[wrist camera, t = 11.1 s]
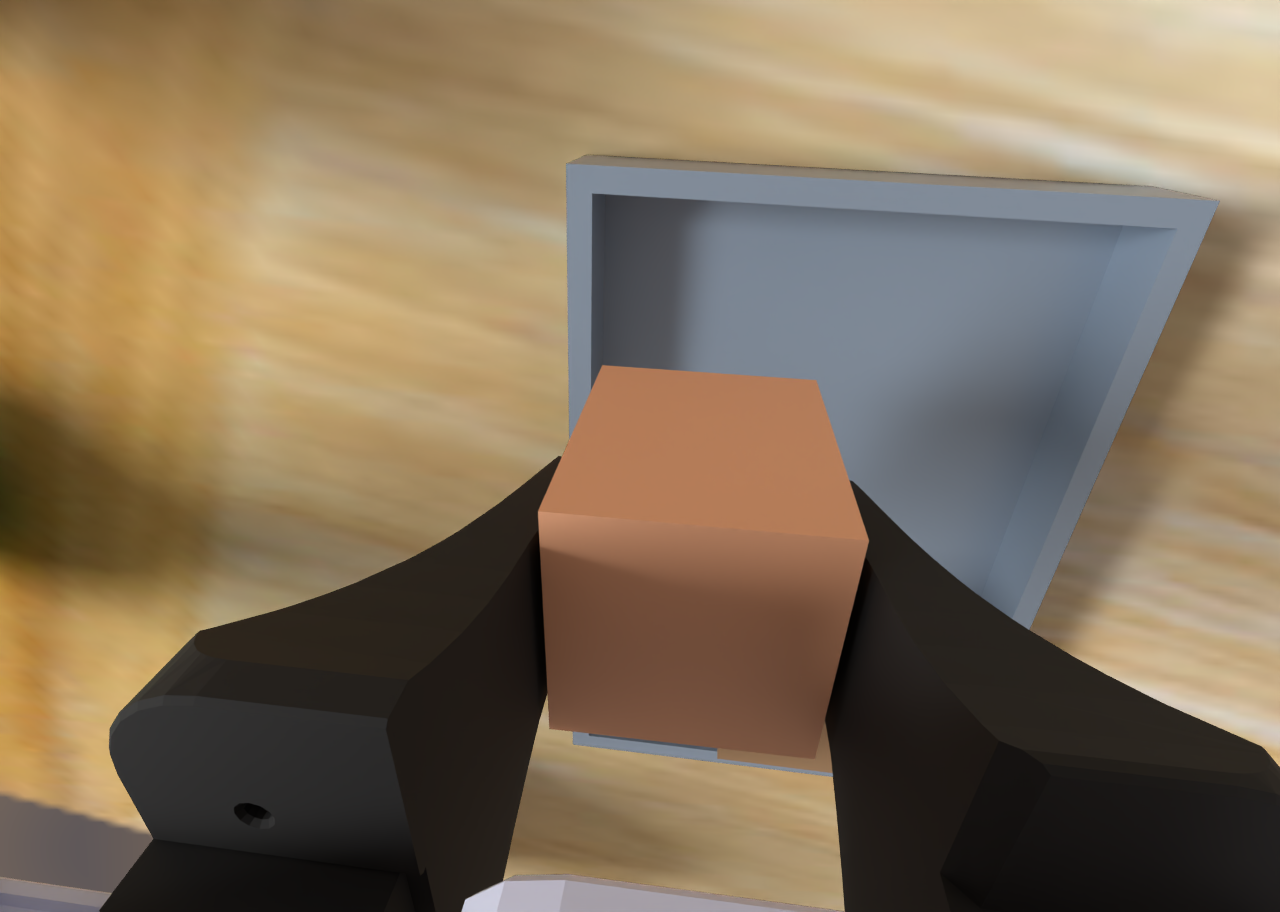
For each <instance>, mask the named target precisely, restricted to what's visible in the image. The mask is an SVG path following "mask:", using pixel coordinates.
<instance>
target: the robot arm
mask: <svg viewBox="0 0 1280 912" xmlns="http://www.w3.org/2000/svg"><path fill="white" fill-rule="evenodd" d="M561 458H562V457H561V456H558V457H557V458H556V459H554V460H553V461H552V462H551V463H549V464H548V465H547V466H546V467H544V468H543V469H542V470H541V471H539V472H538V473H537V474H536V475H534V476H533V477H532V478H531V479H530V480H528V481H527V482H526V483H525V484H523V485H522V486H521V487H520V488H518V489H517V490H516V491H515V492H513V493H512V494H511V495H509V496H508V497H507V498H505V499H504V500H503V501H502V502H500V503H499V504H498V505H496V506H495V507H493V508H492V509H490V510H489V511H487V512H486V513H485V514H483V515H482V516H480V517H479V518H477V519H476V520H474V521H473V522H471V523H470V524H468V525H467V526H466V527H464V528H463V529H461V530H460V531H458V532H456V533H455V534H453V535H452V536H450V537H448V538H446V539H445V540H443V541H441V542H440V543H438V544H436V545H434V546H432V547H430V548H429V549H427V550H425V551H423V552H421V553H419V554H418V555H416V556H414V557H412V558H410V559H408V560H406V561H404V562H401V563H399V564H397V565H395V566H393V567H390V568H388V569H386V570H384V571H381V572H379V573H377V574H375V575H372V576H370V577H368V578H366V579H364V580H361V581H359V582H357V583H354V584H352V585H349V586H346V587H344V588H341V589H339V590H336V591H333V592H331V593H328V594H325V595H322V596H319V597H316V598H314V599H311V600H308V601H305V602H302V603H299V604H296V605H293V606H290V607H286V608H283V609H280V610H277V611H273V612H269V613H266V614H262V615H258V616H255V617H251V618H247V619H244V620H240V621H236V622H233V623H229V624H225V625H222V626H218V627H214V628H210V629H206V630H201V631H199V632H198V633H197V634H196V635H195V636H194V637H193V638H192V639H191V640H190V641H189V642H188V643H187V644H186V645H185V646H184V647H183V648H182V649H181V650H180V651H179V652H178V653H177V654H176V655H175V656H174V657H173V658H172V659H171V660H170V661H169V662H168V663H167V664H166V665H165V666H164V667H163V668H162V669H161V670H160V671H159V672H158V673H157V674H156V675H155V676H154V677H153V679H152V680H151V681H150V682H149V683H148V684H147V685H146V686H145V687H144V688H143V689H142V690H141V691H140V692H139V693H138V694H137V695H136V696H135V697H134V698H133V699H132V700H131V701H130V702H129V703H128V704H127V705H126V706H125V707H124V708H123V709H122V710H121V711H120V712H119V714H118V716H117V717H116V719H115V721H114V722H113V724H112V726H111V727H110V736H109V750H110V755H111V758H112V761H113V763H114V766H115V769H116V771H117V774H118V776H119V778H120V779H121V781H122V783H123V785H124V787H125V788H126V790H127V792H128V794H129V796H130V797H131V799H132V801H133V803H134V805H135V806H136V808H137V810H138V812H139V813H140V815H141V817H142V819H143V821H144V822H145V824H146V826H147V828H148V830H149V831H150V833H151V835H152V837H153V840H152V842H151V843H150V844H149V846H148V847H147V848H146V849H145V851H144V852H143V854H142V855H141V856H140V857H139V859H138V860H137V861H136V863H135V864H134V865H133V867H132V868H131V869H130V870H129V872H128V873H127V874H126V876H125V877H124V879H123V880H122V881H121V882H120V884H119V885H118V886H117V888H116V889H115V890H114V891H113V893H107V892H100V891H93V890H86V889H79V888H72V887H65V886H58V885H52V884H45V883H38V882H30V881H24V880H17V879H10V878H4V877H0V912H844V911H838V910H831V909H823V908H816V907H808V906H801V905H793V904H786V903H779V902H771V901H764V900H756V899H749V898H742V897H734V896H727V895H719V894H712V893H704V892H697V891H690V890H682V889H675V888H667V887H660V886H653V885H645V884H638V883H630V882H623V881H615V880H608V879H601V878H593V877H586V876H578V875H571V874H550V875H514V876H512V877H510V878H508V879H506V880H504V881H503V878H504V873H505V868H506V864H507V859H508V854H509V850H510V845H511V840H512V836H513V831H514V826H515V822H516V818H517V813H518V809H519V804H520V800H521V796H522V791H523V787H524V782H525V778H526V774H527V769H528V765H529V761H530V757H531V753H532V748H533V744H534V740H535V736H536V732H537V728H538V724H539V720H540V716H541V713H542V710H543V706H544V703H545V700H546V696H547V694H548V690H547V671H546V653H545V634H544V616H543V597H542V578H541V560H540V541H539V522H538V510H539V508H540V505H541V503H542V501H543V499H544V496H545V494H546V492H547V490H548V487H549V485H550V483H551V481H552V478H553V476H554V474H555V471H556V469H557V467H558V465H559V462H560V460H561ZM849 481H850V484H851V487H852V490H853V493H854V496H855V499H856V502H857V505H858V509H859V512H860V515H861V518H862V521H863V524H864V527H865V530H866V533H867V536H868V539H869V543H868V547H867V551H866V555H865V559H864V563H863V567H862V571H861V575H860V579H859V583H858V587H857V591H856V595H855V599H854V603H853V607H852V611H851V615H850V619H849V624H848V628H847V632H846V636H845V640H844V644H843V648H842V652H841V656H840V660H839V664H838V668H837V672H836V676H835V680H834V684H833V688H832V692H831V696H830V700H829V704H828V708H827V712H826V716H825V724H826V729H827V735H828V741H829V747H830V753H831V763H832V772H833V782H834V791H835V801H836V811H837V822H838V833H839V844H840V856H841V867H842V879H843V893H844V907H845V912H1280V767H1279V766H1278V765H1277V763H1276V762H1275V761H1274V760H1273V759H1272V757H1271V756H1270V755H1269V754H1268V753H1267V751H1266V750H1265V749H1264V748H1263V747H1262V746H1259V745H1257V744H1255V743H1252V742H1250V741H1248V740H1246V739H1243V738H1241V737H1239V736H1236V735H1234V734H1232V733H1230V732H1227V731H1225V730H1223V729H1220V728H1218V727H1216V726H1214V725H1211V724H1209V723H1207V722H1205V721H1202V720H1200V719H1198V718H1195V717H1193V716H1191V715H1189V714H1186V713H1184V712H1182V711H1179V710H1177V709H1175V708H1173V707H1170V706H1168V705H1166V704H1164V703H1162V702H1160V701H1157V700H1155V699H1153V698H1151V697H1149V696H1147V695H1145V694H1143V693H1141V692H1140V691H1138V690H1136V689H1134V688H1132V687H1130V686H1128V685H1126V684H1124V683H1122V682H1120V681H1118V680H1116V679H1114V678H1112V677H1110V676H1108V675H1106V674H1104V673H1102V672H1100V671H1099V670H1097V669H1095V668H1093V667H1091V666H1089V665H1088V664H1086V663H1084V662H1082V661H1080V660H1079V659H1077V658H1075V657H1073V656H1072V655H1070V654H1068V653H1067V652H1065V651H1063V650H1062V649H1060V648H1058V647H1056V646H1055V645H1053V644H1051V643H1050V642H1048V641H1046V640H1045V639H1043V638H1041V637H1040V636H1038V635H1036V634H1035V633H1033V632H1032V631H1030V630H1029V629H1027V628H1025V627H1024V626H1022V625H1021V624H1019V623H1018V622H1016V621H1015V620H1013V619H1012V618H1010V617H1009V616H1007V615H1006V614H1004V613H1003V612H1002V611H1000V610H999V609H997V608H996V607H995V606H993V605H992V604H990V603H989V602H988V601H986V600H985V599H983V598H982V597H981V596H979V595H978V594H976V593H975V592H974V591H972V590H971V589H970V588H969V587H967V586H966V585H965V584H963V583H962V582H961V581H960V580H958V579H957V578H956V577H955V576H954V575H952V574H951V573H950V572H949V571H948V570H946V569H945V568H944V567H943V566H942V565H940V564H939V563H938V562H937V561H936V560H934V559H933V558H932V557H931V556H930V555H929V554H928V553H927V552H925V551H924V550H923V549H922V548H921V547H920V546H919V545H918V544H917V543H916V542H914V541H913V540H912V539H911V538H910V537H909V536H908V535H907V534H906V533H905V532H904V531H903V530H902V529H901V528H900V527H899V526H898V525H897V524H896V523H895V522H894V521H893V520H892V519H891V518H890V517H889V516H888V515H887V514H886V513H885V512H884V511H883V510H882V509H881V508H880V507H879V506H878V505H877V504H876V503H875V502H874V501H873V500H872V499H871V498H870V497H869V496H868V495H867V494H866V493H865V492H864V491H863V490H862V489H861V488H860V487H859V486H858V485H857V484H855V483H854V482H853V481H851V480H849Z"/></svg>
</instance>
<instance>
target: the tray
mask: <svg viewBox="0 0 1280 912" xmlns="http://www.w3.org/2000/svg"><path fill="white" fill-rule="evenodd" d="M566 195H567V280H568V365H569V440H570V437H571V435H572V433H573V431H574V428H575V426H576V424H577V421H578V419H579V417H580V415H581V412H582V410H583V408H584V406H585V403H586V401H587V399H588V396H589V394H590V392H591V390H592V387H593V385H594V383H595V381H596V378H597V376H598V374H599V371H600V369H601V367H602V365H606V366H621V367H635V368H649V369H664V370H678V371H692V372H707V373H721V374H735V375H750V376H764V377H779V378H793V379H807V380H816V381H817V384H818V387H819V390H820V393H821V396H822V399H823V402H824V405H825V408H826V411H827V414H828V417H829V420H830V423H831V426H832V429H833V432H834V435H835V438H836V442H837V445H838V448H839V451H840V454H841V457H842V460H843V463H844V466H845V469H846V472H847V475H848V478H849V480H851V481H853V482H854V483H855V484H857V485H858V486H859V487H860V488H861V489H862V490H863V491H864V492H865V493H866V494H867V495H868V496H869V497H870V498H871V499H872V500H873V501H874V502H875V503H876V504H877V505H878V506H879V507H880V508H881V509H882V510H883V511H884V512H885V513H886V514H887V515H888V516H889V517H890V518H891V519H892V520H893V521H894V522H895V523H896V524H897V525H898V526H899V527H900V528H901V529H902V530H903V531H904V532H905V533H906V534H907V535H908V536H909V537H910V538H911V539H912V540H913V541H914V542H916V543H917V544H918V545H919V546H920V547H921V548H922V549H923V550H924V551H925V552H927V553H928V554H929V555H930V556H931V557H932V558H933V559H934V560H936V561H937V562H938V563H939V564H940V565H942V566H943V567H944V568H945V569H946V570H948V571H949V572H950V573H951V574H952V575H954V576H955V577H956V578H957V579H958V580H960V581H961V582H962V583H963V584H965V585H966V586H967V587H969V588H970V589H971V590H972V591H974V592H975V593H976V594H978V595H979V596H981V597H982V598H983V599H985V600H986V601H988V602H989V603H990V604H992V605H993V606H995V607H996V608H997V609H999V610H1000V611H1002V612H1003V613H1004V614H1006V615H1007V616H1009V617H1010V618H1012V619H1013V620H1015V621H1016V622H1018V623H1019V624H1021V625H1022V626H1024V627H1025V628H1027V629H1030V627H1031V625H1032V623H1033V620H1034V618H1035V616H1036V614H1037V611H1038V609H1039V607H1040V605H1041V602H1042V600H1043V598H1044V596H1045V593H1046V591H1047V589H1048V587H1049V584H1050V582H1051V580H1052V578H1053V575H1054V573H1055V571H1056V569H1057V566H1058V564H1059V562H1060V560H1061V557H1062V555H1063V553H1064V551H1065V548H1066V546H1067V544H1068V542H1069V539H1070V537H1071V535H1072V533H1073V530H1074V528H1075V526H1076V524H1077V521H1078V519H1079V517H1080V515H1081V512H1082V510H1083V508H1084V506H1085V503H1086V501H1087V499H1088V497H1089V494H1090V492H1091V490H1092V488H1093V485H1094V483H1095V481H1096V479H1097V476H1098V474H1099V472H1100V470H1101V467H1102V465H1103V463H1104V461H1105V458H1106V456H1107V454H1108V452H1109V449H1110V447H1111V445H1112V443H1113V440H1114V438H1115V436H1116V434H1117V431H1118V429H1119V427H1120V425H1121V422H1122V420H1123V418H1124V416H1125V413H1126V411H1127V409H1128V407H1129V404H1130V402H1131V400H1132V398H1133V395H1134V393H1135V391H1136V389H1137V386H1138V384H1139V382H1140V380H1141V377H1142V375H1143V373H1144V371H1145V368H1146V366H1147V364H1148V362H1149V359H1150V357H1151V355H1152V353H1153V350H1154V348H1155V346H1156V344H1157V341H1158V339H1159V337H1160V335H1161V332H1162V330H1163V328H1164V326H1165V323H1166V321H1167V319H1168V317H1169V314H1170V312H1171V310H1172V308H1173V305H1174V303H1175V301H1176V299H1177V296H1178V294H1179V292H1180V290H1181V287H1182V285H1183V283H1184V281H1185V278H1186V276H1187V274H1188V272H1189V269H1190V267H1191V265H1192V263H1193V260H1194V258H1195V256H1196V254H1197V251H1198V249H1199V247H1200V245H1201V242H1202V240H1203V238H1204V236H1205V233H1206V231H1207V229H1208V227H1209V224H1210V222H1211V220H1212V217H1213V215H1214V213H1215V211H1216V208H1217V206H1218V204H1219V202H1220V201H1218V200H1213V199H1209V198H1204V197H1199V196H1195V195H1190V194H1185V193H1181V192H1176V191H1171V190H1167V189H1162V188H1157V187H1153V186H1136V185H1118V184H1100V183H1083V182H1065V181H1047V180H1029V179H1011V178H993V177H975V176H957V175H939V174H921V173H904V172H886V171H868V170H850V169H832V168H814V167H796V166H778V165H760V164H742V163H725V162H707V161H689V160H671V159H653V158H635V157H617V156H599V155H584V156H582V157H580V158H578V159H575V160H573V161H571V162H569V163H566ZM573 744H574V745H582V746H590V747H598V748H606V749H614V750H622V751H630V752H638V753H646V754H654V755H662V756H670V757H678V758H686V759H694V760H702V761H710V762H718V763H726V764H734V765H742V766H750V767H758V768H766V769H774V770H782V771H790V772H798V773H806V774H815V775H823V776H831V777H833V773H827V772H819V771H811V770H803V769H795V768H787V767H779V766H771V765H763V764H756V763H748V762H740V761H732V760H724V759H717V748H712V747H703V746H694V745H686V744H677V743H668V742H660V741H651V740H642V739H633V738H625V737H616V736H607V735H599V734H590V733H581V732H573Z"/></svg>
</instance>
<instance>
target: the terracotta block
mask: <svg viewBox="0 0 1280 912" xmlns="http://www.w3.org/2000/svg"><path fill="white" fill-rule="evenodd" d="M538 522H539V541H540V560H541V578H542V597H543V616H544V634H545V653H546V671H547V690H548V709H549V727H550V729H555V730H564V731H573V732H581V733H590V734H599V735H607V736H616V737H625V738H633V739H642V740H651V741H660V742H668V743H677V744H686V745H694V746H703V747H712V748H720V749H729V750H738V751H746V752H755V753H764V754H772V755H781V756H790V757H798V758H807V759H815V757H816V753H817V749H818V745H819V741H820V737H821V732H822V728H823V724H824V720H825V716H826V712H827V708H828V704H829V700H830V696H831V692H832V688H833V684H834V680H835V676H836V672H837V668H838V664H839V660H840V656H841V652H842V648H843V644H844V640H845V636H846V632H847V628H848V624H849V619H850V615H851V611H852V607H853V603H854V599H855V595H856V591H857V587H858V583H859V579H860V575H861V571H862V567H863V563H864V559H865V555H866V551H867V547H868V543H869V539H868V536H867V533H866V530H865V527H864V524H863V521H862V518H861V515H860V512H859V509H858V505H857V502H856V499H855V496H854V493H853V490H852V487H851V484H850V481H849V478H848V475H847V472H846V469H845V466H844V463H843V460H842V457H841V454H840V451H839V448H838V445H837V442H836V438H835V435H834V432H833V429H832V426H831V423H830V420H829V417H828V414H827V411H826V408H825V405H824V402H823V399H822V396H821V393H820V390H819V387H818V384H817V381H816V380H807V379H793V378H779V377H764V376H750V375H735V374H721V373H707V372H692V371H678V370H664V369H649V368H635V367H621V366H606V365H602V367H601V369H600V371H599V374H598V376H597V378H596V381H595V383H594V385H593V387H592V390H591V392H590V394H589V396H588V399H587V401H586V403H585V406H584V408H583V410H582V412H581V415H580V417H579V419H578V421H577V424H576V426H575V428H574V431H573V433H572V435H571V437H570V440H569V442H568V444H567V446H566V449H565V451H564V453H563V456H562V458H561V460H560V462H559V465H558V467H557V469H556V471H555V474H554V476H553V478H552V481H551V483H550V485H549V487H548V490H547V492H546V494H545V496H544V499H543V501H542V503H541V505H540V508H539V510H538Z"/></svg>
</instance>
